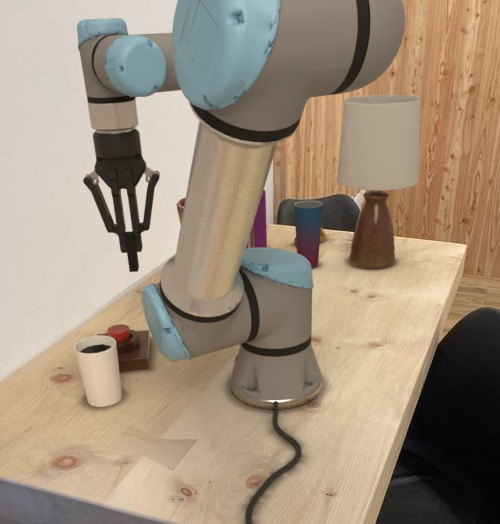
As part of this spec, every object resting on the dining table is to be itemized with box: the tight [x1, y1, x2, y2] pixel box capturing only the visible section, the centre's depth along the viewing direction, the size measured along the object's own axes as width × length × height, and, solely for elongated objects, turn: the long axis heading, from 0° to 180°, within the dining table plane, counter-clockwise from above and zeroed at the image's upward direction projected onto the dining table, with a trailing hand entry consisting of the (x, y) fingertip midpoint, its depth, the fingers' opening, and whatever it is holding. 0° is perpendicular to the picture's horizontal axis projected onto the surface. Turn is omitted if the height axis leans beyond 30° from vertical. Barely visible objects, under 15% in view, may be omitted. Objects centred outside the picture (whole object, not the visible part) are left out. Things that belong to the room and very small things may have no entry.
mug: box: [254, 189, 268, 248], centre depth 164 cm, size 9×16×15 cm, turn 163°
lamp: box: [336, 94, 422, 270], centre depth 149 cm, size 19×19×37 cm
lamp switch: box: [107, 323, 131, 343], centre depth 117 cm, size 4×4×2 cm
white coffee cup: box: [73, 335, 123, 408], centre depth 104 cm, size 7×7×10 cm
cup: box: [293, 199, 324, 269], centre depth 154 cm, size 7×7×15 cm
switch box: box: [96, 329, 151, 372], centre depth 118 cm, size 12×10×4 cm
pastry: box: [294, 226, 328, 245], centre depth 172 cm, size 9×7×4 cm
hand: (134, 269), depth 115 cm, fingers closed
